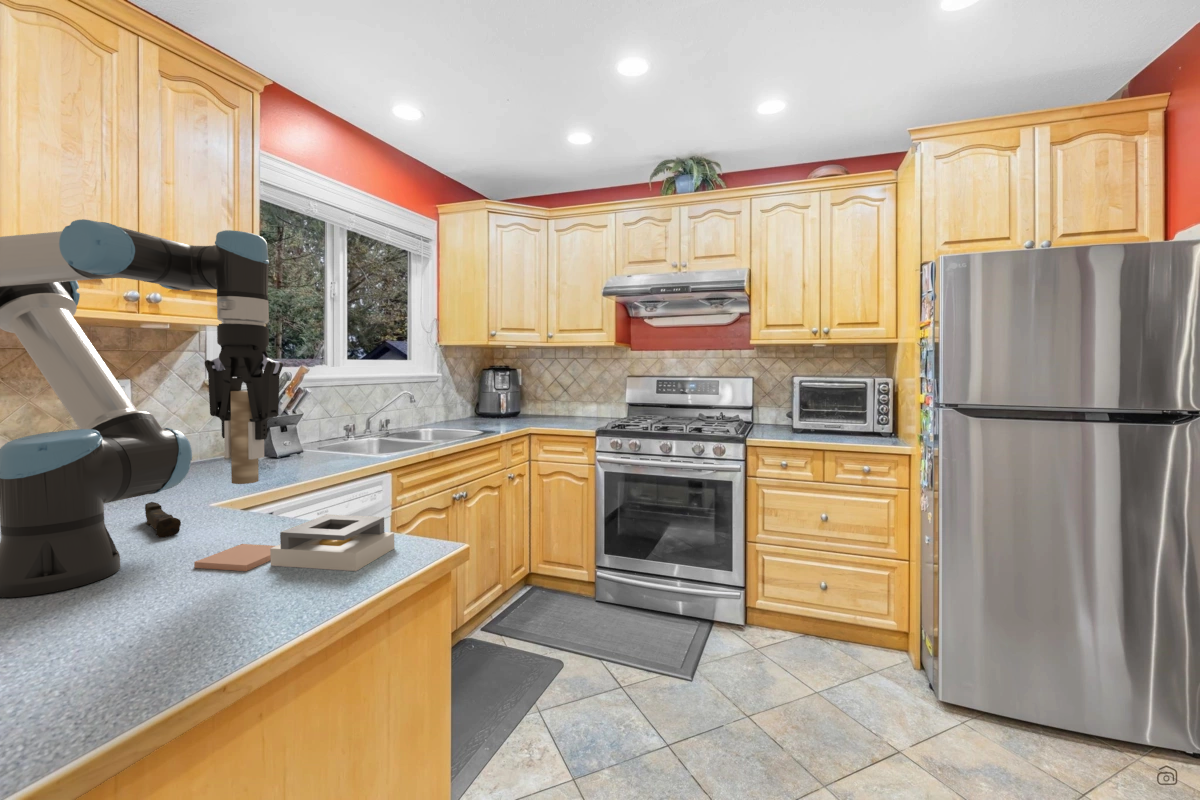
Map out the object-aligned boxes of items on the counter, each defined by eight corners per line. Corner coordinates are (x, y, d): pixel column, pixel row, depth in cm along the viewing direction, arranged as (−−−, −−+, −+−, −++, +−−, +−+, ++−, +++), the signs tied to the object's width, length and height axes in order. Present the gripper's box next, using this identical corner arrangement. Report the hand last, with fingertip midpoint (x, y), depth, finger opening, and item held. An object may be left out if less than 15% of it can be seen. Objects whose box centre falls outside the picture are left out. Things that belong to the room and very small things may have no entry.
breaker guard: (270, 565, 93) (269, 531, 93) (317, 544, 105) (317, 513, 105) (356, 571, 91) (355, 536, 90) (394, 548, 102) (393, 517, 102)
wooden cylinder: (225, 483, 94) (224, 391, 93) (244, 478, 98) (243, 390, 97) (246, 484, 94) (245, 391, 93) (264, 480, 98) (263, 391, 97)
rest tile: (194, 567, 92) (194, 561, 92) (242, 549, 102) (242, 543, 102) (246, 571, 91) (246, 565, 90) (289, 551, 100) (289, 546, 100)
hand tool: (181, 535, 111) (180, 513, 111) (156, 539, 108) (155, 516, 108) (165, 519, 124) (164, 498, 124) (142, 522, 122) (142, 501, 121)
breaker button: (313, 560, 96) (313, 543, 96) (331, 551, 101) (331, 535, 101) (339, 561, 95) (338, 544, 95) (356, 552, 100) (356, 536, 100)
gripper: (181, 321, 92) (183, 458, 93) (271, 322, 90) (272, 463, 91) (218, 325, 99) (220, 452, 101) (302, 326, 97) (303, 456, 98)
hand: (244, 457), depth 96 cm, fingers closed on wooden cylinder, 4 cm apart
